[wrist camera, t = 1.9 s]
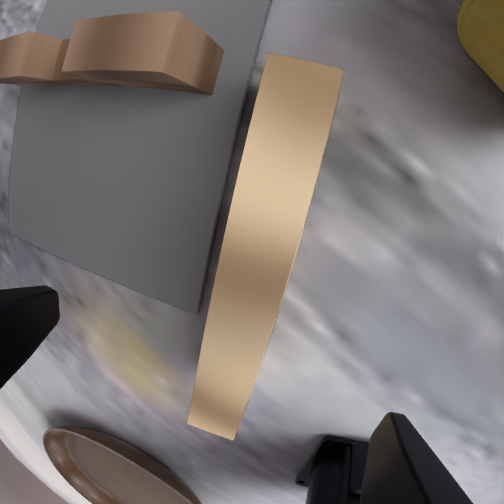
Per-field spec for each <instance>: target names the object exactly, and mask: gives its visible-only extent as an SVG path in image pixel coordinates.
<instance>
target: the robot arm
mask: <svg viewBox="0 0 504 504" xmlns="http://www.w3.org/2000/svg"><path fill="white" fill-rule="evenodd" d="M59 318H60V312H59V297H58V293H57V292H56V291H55V290H54V289H52V288H50V287H48V286H35V287H24V288H13V289H2V290H0V389H1V388H2V387H3V386H4V385H5V383H6V382H7V381H8V380H9V379H10V378H11V377H12V376H13V375H14V374H15V373H16V372H17V371H18V370H19V369H20V367H21V366H22V365H23V364H24V363H25V362H26V361H27V360H28V359H29V358H30V357H31V355H32V354H33V353H34V352H35V350H36V349H37V348H38V347H39V345H40V344H41V343H42V342H43V340H44V339H45V338H46V337H47V336H48V334H49V333H50V332H51V331H52V329H53V328H54V327H55V326H56V325H57V323H58V321H59ZM328 442H330V443H328ZM295 483H296V484H298V485H301V486H306V487H308V492H307V498H306V504H473V503H472V502H471V500H470V499H469V498H468V496H467V495H466V494H465V492H464V491H463V490H462V488H461V487H460V486H459V484H458V483H457V482H456V480H455V479H454V478H453V477H452V475H451V474H450V473H449V471H448V470H447V469H446V467H445V466H444V465H443V464H442V462H441V461H440V460H439V458H438V457H437V456H436V455H435V453H434V452H433V451H432V449H431V448H430V447H429V445H428V444H427V443H426V442H425V440H424V439H423V438H422V436H421V435H420V434H419V433H418V431H417V430H416V429H415V428H414V426H413V425H412V424H411V422H410V421H409V420H408V419H407V417H406V416H405V415H403V414H399V413H394V412H389V413H387V414H386V415H385V417H384V418H383V419H382V421H381V422H380V424H379V425H378V427H377V428H376V429H375V431H374V432H373V434H372V436H371V438H370V442H369V443H364V442H359V441H354V440H349V439H344V438H339V437H335V436H326V437H324V438H323V439H322V441H321V442H320V444H319V445H318V447H317V448H316V450H315V451H314V453H313V454H312V456H311V457H310V459H309V460H308V461H307V463H306V464H305V466H304V467H303V469H302V470H301V471H300V473H299V474H298V475H297V477H296V480H295Z"/></svg>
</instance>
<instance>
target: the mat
mask: <svg viewBox="0 0 504 504" xmlns="http://www.w3.org/2000/svg"><path fill="white" fill-rule="evenodd" d="M271 2H272V0H48V2H47V4H46V7H45V9H44V12H43V15H42V18H41V21H40V24H39V26H38V30H37V33H40V34H43V35H47V36H51V37H54V38H58V39H62V40H64V39H70V38H71V35H72V32H73V29H74V26H75V23H76V21H78V20H84V19H90V18H96V17H104V16H111V15H120V14H131V13H144V12H163V11H180V12H182V13H183V14H184V15H185V16H186V17H188V18H189V19H190V20H191V21H192V22H193V23H195V24H196V25H197V26H198V27H199V28H200V29H202V30H203V31H204V32H205V33H206V34H207V35H208V36H209V37H211V38H212V39H213V40H214V41H215V42H216V43H217V44H218V45H219V46H220V47H221V48H223V49H224V54H223V58H222V61H221V65H220V69H219V72H218V76H217V80H216V84H215V88H214V92H213V95H206V94H199V93H192V92H184V91H175V90H166V89H156V88H144V87H129V86H109V85H47V86H26V85H22V90H21V94H20V100H19V105H18V111H17V117H16V123H15V130H14V138H13V146H12V156H11V167H10V183H9V233H10V234H12V235H14V236H16V237H18V238H20V239H22V240H24V241H26V242H28V243H30V244H32V245H34V246H36V247H38V248H40V249H42V250H44V251H47V252H49V253H51V254H53V255H55V256H57V257H59V258H61V259H64V260H66V261H68V262H70V263H72V264H74V265H77V266H79V267H81V268H83V269H86V270H88V271H90V272H92V273H95V274H97V275H99V276H101V277H104V278H106V279H108V280H111V281H113V282H115V283H118V284H120V285H123V286H125V287H127V288H130V289H132V290H135V291H137V292H140V293H142V294H145V295H147V296H150V297H152V298H155V299H157V300H160V301H162V302H165V303H168V304H170V305H173V306H175V307H178V308H181V309H183V310H186V311H189V312H191V313H194V314H197V313H198V312H199V310H200V304H201V299H202V294H203V288H204V283H205V278H206V273H207V268H208V263H209V258H210V253H211V248H212V243H213V238H214V233H215V229H216V224H217V219H218V214H219V210H220V205H221V201H222V196H223V192H224V187H225V183H226V178H227V174H228V169H229V165H230V161H231V156H232V152H233V148H234V143H235V139H236V135H237V131H238V127H239V123H240V119H241V114H242V110H243V106H244V102H245V98H246V94H247V91H248V87H249V83H250V79H251V75H252V71H253V67H254V64H255V60H256V56H257V52H258V49H259V45H260V41H261V38H262V34H263V31H264V27H265V23H266V20H267V16H268V13H269V9H270V6H271Z"/></svg>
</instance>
